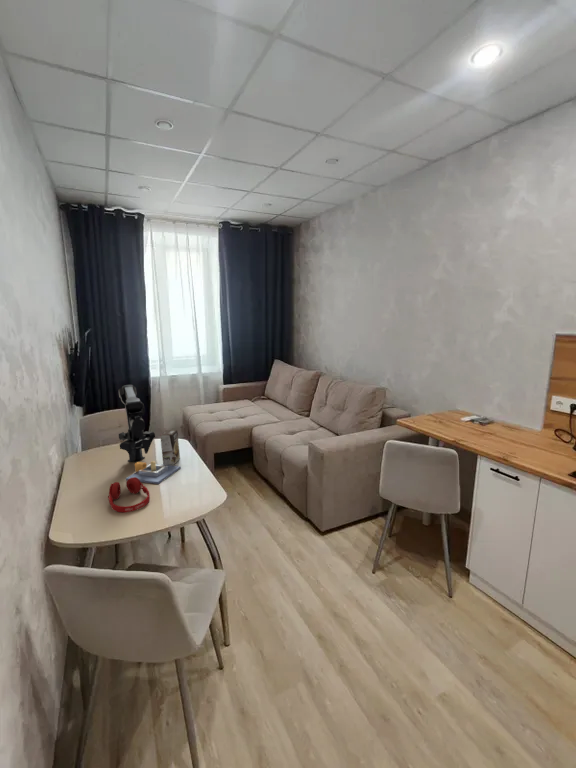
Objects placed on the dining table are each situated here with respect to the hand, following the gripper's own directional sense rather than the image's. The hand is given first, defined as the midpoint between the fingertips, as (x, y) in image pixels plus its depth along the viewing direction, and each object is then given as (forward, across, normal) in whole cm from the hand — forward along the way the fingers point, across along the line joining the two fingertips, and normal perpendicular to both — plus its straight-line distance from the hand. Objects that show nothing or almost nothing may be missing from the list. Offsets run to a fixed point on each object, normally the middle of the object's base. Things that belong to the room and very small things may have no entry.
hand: (140, 456), depth 178 cm
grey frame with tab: (+7, 0, +5) cm, 9 cm away
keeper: (+8, 0, +7) cm, 11 cm away
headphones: (+9, +25, +14) cm, 30 cm away
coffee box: (+9, -16, +6) cm, 19 cm away
